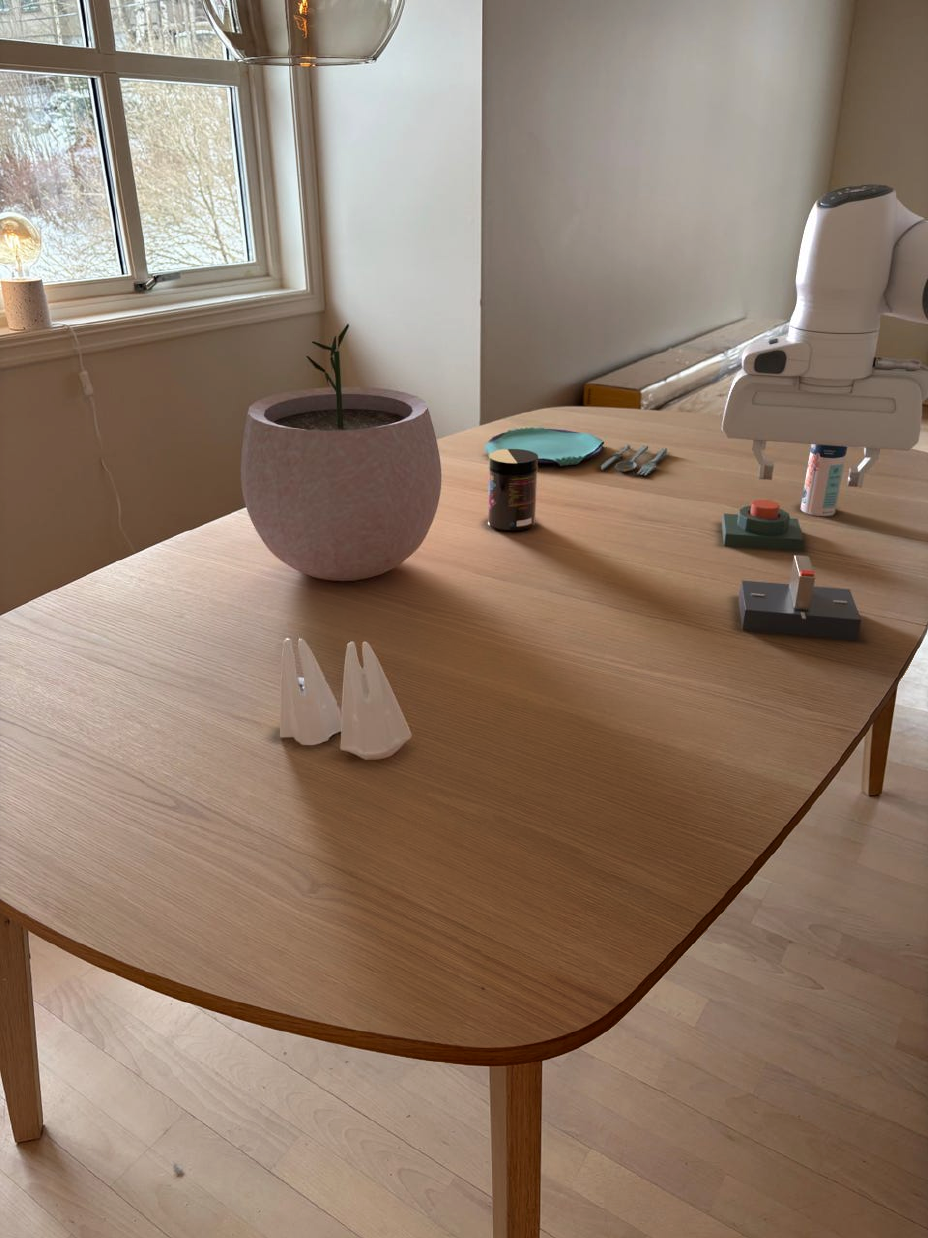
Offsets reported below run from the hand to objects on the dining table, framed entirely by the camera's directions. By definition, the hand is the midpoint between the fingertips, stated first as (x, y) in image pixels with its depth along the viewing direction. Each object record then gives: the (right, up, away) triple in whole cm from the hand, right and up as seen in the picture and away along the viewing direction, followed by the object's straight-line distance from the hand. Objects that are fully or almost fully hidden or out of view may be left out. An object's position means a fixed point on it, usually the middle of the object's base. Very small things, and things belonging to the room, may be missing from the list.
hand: (809, 481), depth 106 cm
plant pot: (-53, -9, +15) cm, 56 cm away
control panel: (-1, -16, +1) cm, 16 cm away
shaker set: (-49, -27, -21) cm, 60 cm away
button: (+2, -1, +22) cm, 22 cm away
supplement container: (-32, -3, +28) cm, 42 cm away
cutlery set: (-20, +12, +58) cm, 62 cm away
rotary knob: (-1, -13, 0) cm, 13 cm away
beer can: (+13, 0, +34) cm, 36 cm away
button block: (+2, -5, +24) cm, 24 cm away
